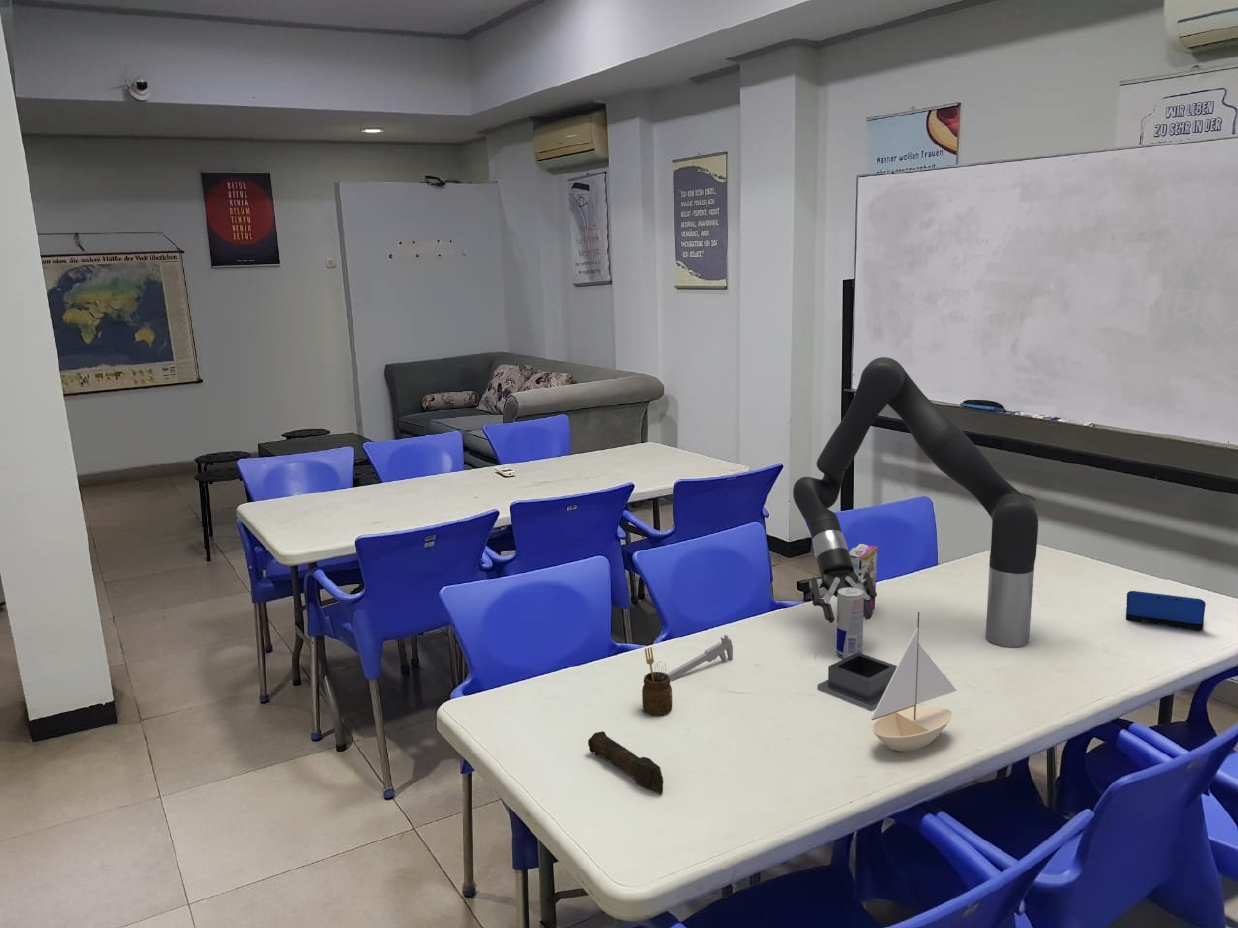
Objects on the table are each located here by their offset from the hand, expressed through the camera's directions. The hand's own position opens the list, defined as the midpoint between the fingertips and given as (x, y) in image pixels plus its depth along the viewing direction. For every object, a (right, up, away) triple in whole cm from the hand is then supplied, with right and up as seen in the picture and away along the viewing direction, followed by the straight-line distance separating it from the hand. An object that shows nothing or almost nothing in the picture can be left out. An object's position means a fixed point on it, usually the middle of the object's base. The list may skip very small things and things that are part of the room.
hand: (850, 619), depth 204 cm
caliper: (-34, -11, -3) cm, 36 cm away
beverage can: (0, -8, +2) cm, 9 cm away
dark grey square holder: (-1, -12, -14) cm, 19 cm away
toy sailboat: (+3, -17, -35) cm, 39 cm away
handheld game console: (+77, -3, +15) cm, 79 cm away
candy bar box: (+8, -3, +26) cm, 27 cm away
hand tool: (-49, -20, -41) cm, 67 cm away
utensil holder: (-43, -15, -20) cm, 50 cm away
